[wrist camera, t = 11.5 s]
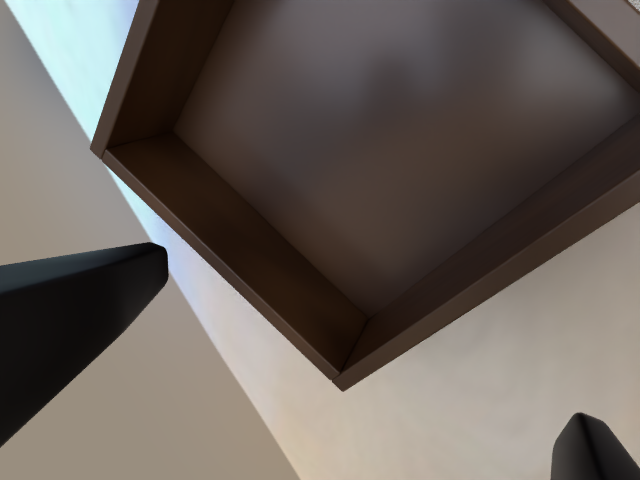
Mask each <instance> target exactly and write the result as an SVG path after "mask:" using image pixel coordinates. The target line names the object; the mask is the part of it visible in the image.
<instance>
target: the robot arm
mask: <svg viewBox="0 0 640 480" xmlns="http://www.w3.org/2000/svg"><path fill="white" fill-rule="evenodd" d="M168 275H169V274H168V255H167V251H166V249H165V248H164V247H162V246H160V245H157V244H155V243H151V242H147V243H141V244H134V245H128V246H122V247H116V248H109V249H103V250H97V251H90V252H84V253H78V254H71V255H65V256H59V257H52V258H46V259H40V260H33V261H27V262H21V263H15V264H8V265H2V266H0V448H1V446H2V445H4V444H5V443H6V442H7V441H8V440H9V439H10V438H11V437H12V436H13V435H14V434H15V433H17V432H18V431H19V430H20V429H21V428H22V427H23V426H24V425H25V424H26V423H27V422H28V421H29V420H30V419H31V418H32V417H34V416H35V415H36V414H37V413H38V412H39V411H40V410H41V409H42V408H43V407H44V406H45V405H46V404H47V403H49V402H50V400H52V399H53V398H54V397H55V396H56V395H57V394H58V393H59V392H60V391H61V390H62V389H64V387H66V386H67V385H68V384H69V383H70V382H71V381H72V380H73V379H74V378H75V377H76V376H77V375H78V374H80V373H81V372H82V371H83V370H84V369H85V368H86V367H87V366H88V365H89V364H90V363H91V362H92V361H93V360H94V359H95V358H97V357H98V356H99V355H100V354H101V353H102V352H103V351H104V350H105V349H106V348H107V347H108V346H109V345H110V344H112V343H113V341H115V340H116V339H117V338H118V337H119V336H120V335H121V334H122V333H123V332H124V331H125V330H126V329H127V328H128V326H130V324H131V323H132V322H133V321H134V320H135V319H136V318H137V317H138V315H139V314H140V313H141V312H142V311H143V310H144V308H145V307H146V306H147V305H148V304H149V303H150V302H151V300H153V298H154V297H155V296H156V295H157V294H158V293H159V291H160V290H161V289H162V288H163V287H164V286H165V284H166V282H167V280H168ZM551 480H640V468H639V467H638V465H637V464H636V463H635V461H634V460H633V459H632V457H631V456H630V455H629V453H628V452H627V451H626V449H625V448H624V447H623V445H622V444H621V443H620V442H619V440H618V439H617V438H616V436H615V435H614V434H613V432H612V431H611V430H610V428H609V427H608V426H607V425H606V424H605V423H604V422H603V421H601V420H599V419H597V418H594V417H592V416H589V415H587V414H584V413H581V412H580V413H576V414H574V415H573V416H572V418H571V419H570V420H569V422H568V423H567V425H566V426H565V428H564V429H563V431H562V432H561V434H560V435H559V437H558V438H557V440H556V442H555V444H554V447H553V453H552V466H551Z"/></svg>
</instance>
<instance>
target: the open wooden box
mask: <svg viewBox="0 0 640 480" xmlns="http://www.w3.org/2000/svg"><path fill="white" fill-rule="evenodd" d="M90 150H91V151H92V152H93V153H94V154H95V155H97V157H99V159H102V162H103V163H104V164H105V165H106V166H108V167H109V168H110V169H111V170H112V171H113V172H114V173H115V174H116V175H117V176H118V177H119V178H120V179H121V180H122V181H123V182H124V183H125V184H126V185H127V186H128V187H129V188H130V189H131V190H133V191H134V192H135V193H136V194H137V195H138V196H139V197H140V198H141V199H142V200H143V201H144V202H145V203H146V204H147V205H148V206H149V207H150V208H151V209H152V210H153V211H154V212H155V213H156V214H158V215H159V216H160V217H161V218H162V219H163V220H164V221H165V222H166V223H167V224H168V225H169V226H170V227H171V228H172V229H173V230H174V231H175V232H176V233H177V234H178V235H179V236H180V237H181V238H182V239H184V240H185V241H186V242H187V243H188V244H189V245H190V246H191V247H192V248H193V249H194V250H195V251H196V252H197V253H198V254H199V255H200V256H201V257H202V258H203V259H204V260H205V261H206V262H207V263H209V264H210V265H211V266H212V267H213V268H214V269H215V270H216V271H217V272H218V273H219V274H220V275H221V276H222V277H223V278H224V279H225V280H226V281H227V282H228V283H229V284H230V285H231V286H232V287H234V288H235V289H236V290H237V291H238V292H239V293H240V294H241V295H242V296H243V297H244V298H245V299H246V300H247V301H248V302H249V303H250V304H251V305H252V306H253V307H254V308H255V309H256V310H257V311H258V312H260V313H261V314H262V315H263V316H264V317H265V318H266V319H267V320H268V321H269V322H270V323H271V324H272V325H273V326H274V327H275V328H276V329H277V330H278V331H279V332H280V333H281V334H282V335H283V336H285V337H286V338H287V339H288V340H289V341H290V342H291V343H292V344H293V345H294V346H295V347H296V348H297V349H298V350H299V351H300V352H301V353H302V354H303V355H304V356H305V357H306V358H307V359H308V360H310V361H311V362H312V363H313V364H314V365H315V366H316V367H317V368H318V369H319V370H320V371H321V372H322V373H323V374H324V375H325V376H326V377H327V378H328V379H329V380H332V382H333V383H334V384H335V385H336V386H337V387H338V388H339V389H340V390H341V391H342V392H344V391H345V390H347V389H348V388H350V387H352V386H353V385H355V384H356V383H358V382H359V381H361V380H362V379H364V378H366V377H367V376H369V375H370V374H372V373H373V372H375V371H376V370H378V369H380V368H381V367H383V366H384V365H386V364H387V363H389V362H391V361H392V360H394V359H395V358H397V357H398V356H400V355H401V354H403V353H405V352H406V351H408V350H409V349H411V348H412V347H414V346H415V345H417V344H419V343H420V342H422V341H423V340H425V339H426V338H428V337H430V336H431V335H433V334H434V333H436V332H437V331H439V330H440V329H442V328H444V327H445V326H447V325H448V324H450V323H451V322H453V321H454V320H456V319H458V318H459V317H461V316H462V315H464V314H465V313H467V312H469V311H470V310H472V309H473V308H475V307H476V306H478V305H479V304H481V303H483V302H484V301H486V300H487V299H489V298H490V297H492V296H493V295H495V294H497V293H498V292H500V291H501V290H503V289H504V288H506V287H508V286H509V285H511V284H512V283H514V282H515V281H517V280H518V279H520V278H522V277H523V276H525V275H526V274H528V273H529V272H531V271H532V270H534V269H536V268H537V267H539V266H540V265H542V264H543V263H545V262H547V261H548V260H550V259H551V258H553V257H554V256H556V255H557V254H559V253H561V252H562V251H564V250H565V249H567V248H568V247H570V246H571V245H573V244H575V243H576V242H578V241H579V240H581V239H582V238H584V237H586V236H587V235H589V234H590V233H592V232H593V231H595V230H596V229H598V228H600V227H601V226H603V225H604V224H606V223H607V222H609V221H610V220H612V219H614V218H615V217H617V216H618V215H620V214H621V213H623V212H625V211H626V210H628V209H629V208H631V207H632V206H634V205H635V204H637V203H639V202H640V12H639V11H638V10H637V9H636V8H635V7H634V6H633V5H632V4H631V3H630V2H629V1H628V0H139V3H138V6H137V9H136V12H135V15H134V18H133V21H132V24H131V27H130V30H129V33H128V36H127V39H126V42H125V45H124V48H123V51H122V54H121V57H120V60H119V63H118V66H117V69H116V72H115V75H114V78H113V81H112V83H111V86H110V89H109V92H108V95H107V98H106V101H105V104H104V107H103V110H102V113H101V116H100V119H99V122H98V125H97V128H96V131H95V134H94V137H93V140H92V143H91V146H90Z"/></svg>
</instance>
